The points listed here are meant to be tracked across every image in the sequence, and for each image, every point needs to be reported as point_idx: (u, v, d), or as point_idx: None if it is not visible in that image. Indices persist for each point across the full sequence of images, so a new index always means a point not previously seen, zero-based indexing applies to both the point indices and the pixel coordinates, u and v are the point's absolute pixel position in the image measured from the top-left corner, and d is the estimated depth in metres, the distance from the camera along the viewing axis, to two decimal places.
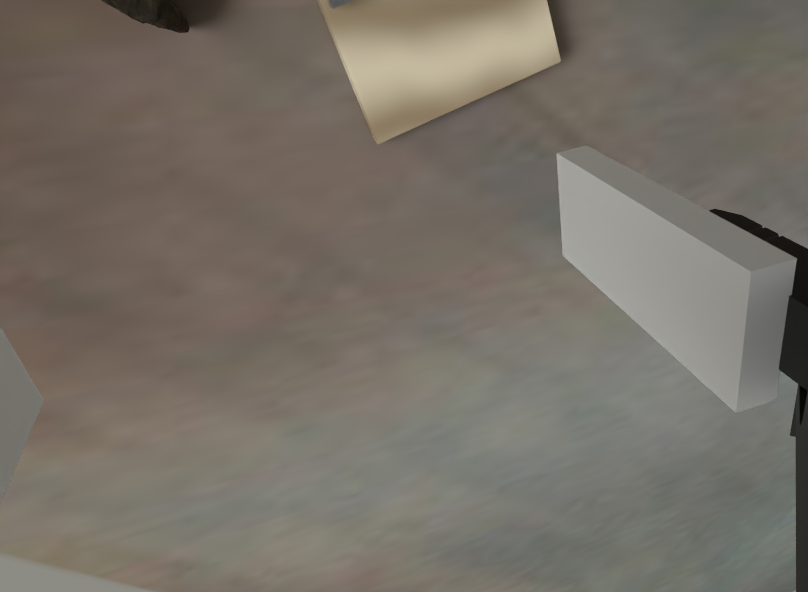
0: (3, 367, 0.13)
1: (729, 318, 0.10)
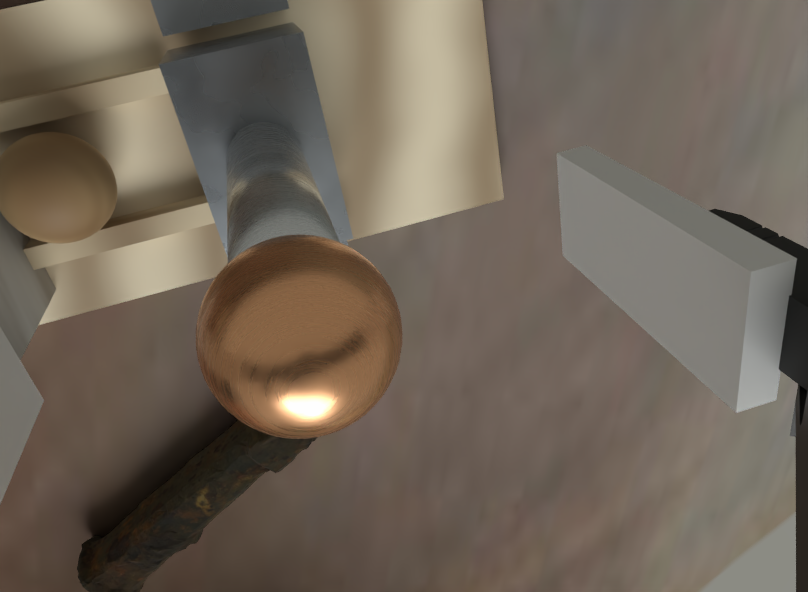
0: (3, 367, 0.13)
1: (729, 318, 0.10)
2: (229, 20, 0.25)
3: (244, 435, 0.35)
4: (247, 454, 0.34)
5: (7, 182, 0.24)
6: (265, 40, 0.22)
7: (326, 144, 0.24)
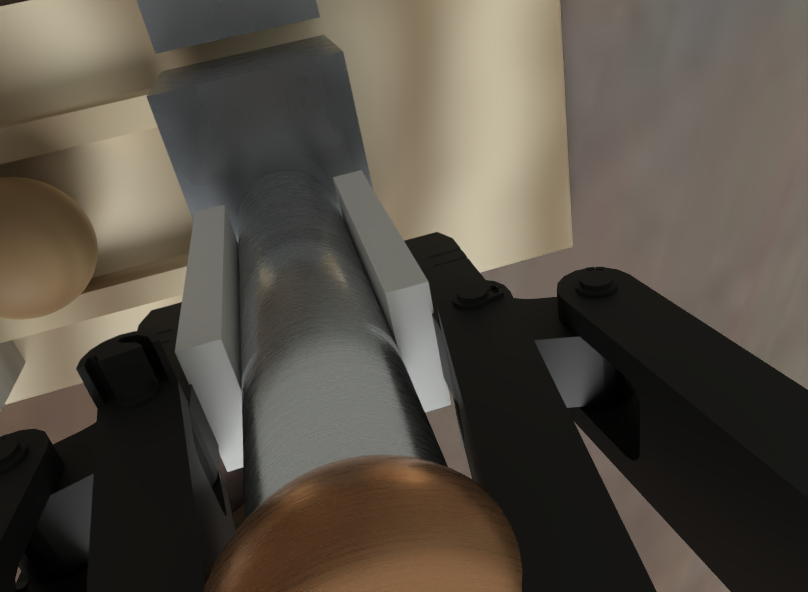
0: None
1: (392, 333, 0.12)
2: (242, 32, 0.19)
3: None
4: None
5: None
6: (292, 63, 0.16)
7: None
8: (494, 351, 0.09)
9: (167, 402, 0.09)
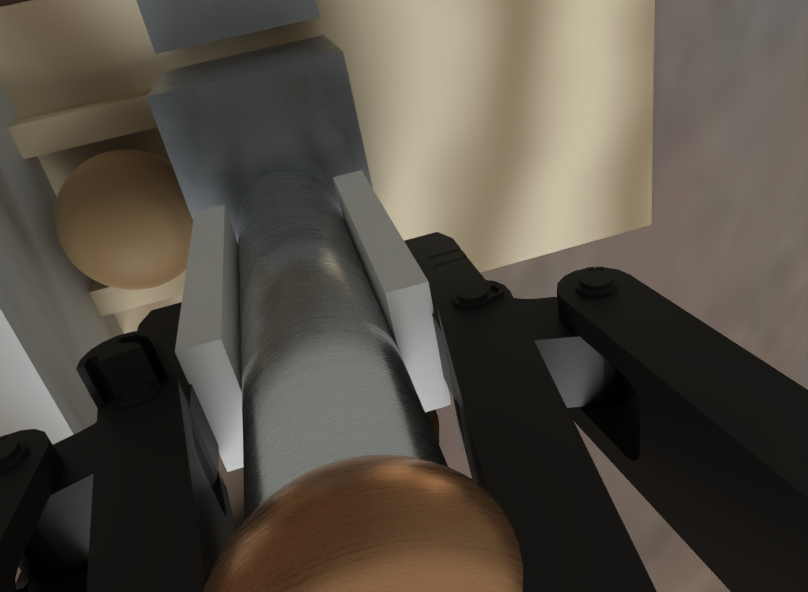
0: None
1: (392, 333, 0.12)
2: (242, 32, 0.19)
3: None
4: None
5: (73, 217, 0.18)
6: (292, 63, 0.16)
7: None
8: (494, 351, 0.09)
9: (167, 402, 0.09)
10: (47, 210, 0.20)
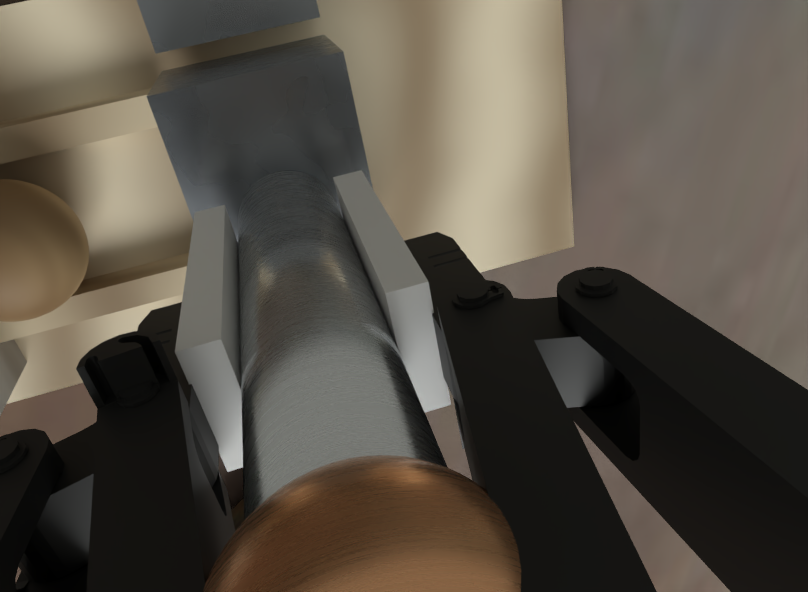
0: None
1: (392, 333, 0.12)
2: (242, 32, 0.19)
3: None
4: None
5: None
6: (292, 63, 0.16)
7: None
8: (494, 351, 0.09)
9: (167, 402, 0.09)
10: None
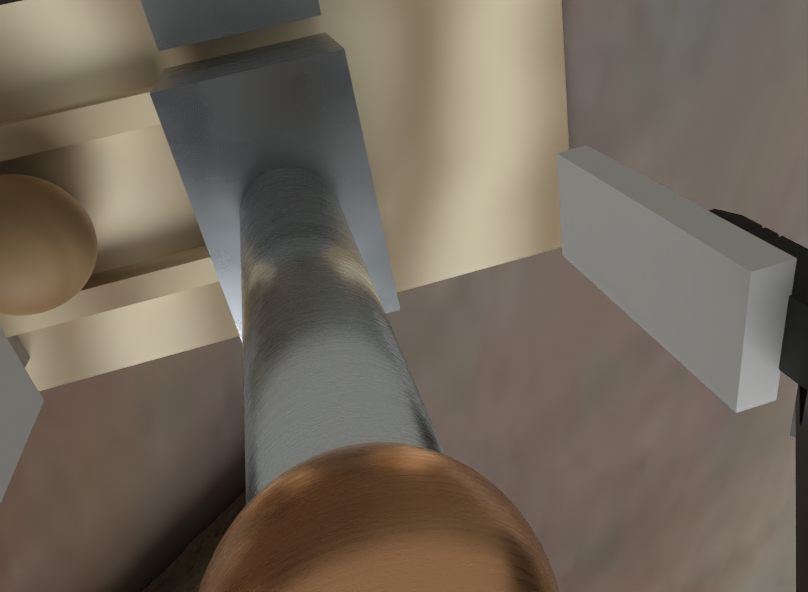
0: (3, 367, 0.13)
1: (729, 318, 0.10)
2: (244, 30, 0.19)
3: None
4: None
5: None
6: (293, 60, 0.16)
7: (370, 194, 0.18)
8: None
9: None
10: None
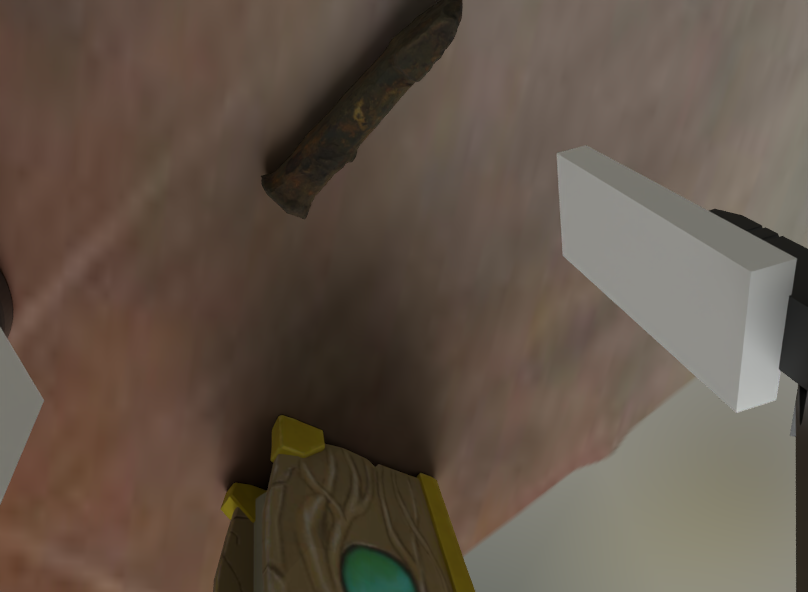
0: (3, 367, 0.13)
1: (729, 318, 0.10)
2: None
3: (389, 53, 0.43)
4: (393, 66, 0.43)
5: None
6: None
7: None
8: None
9: None
10: None
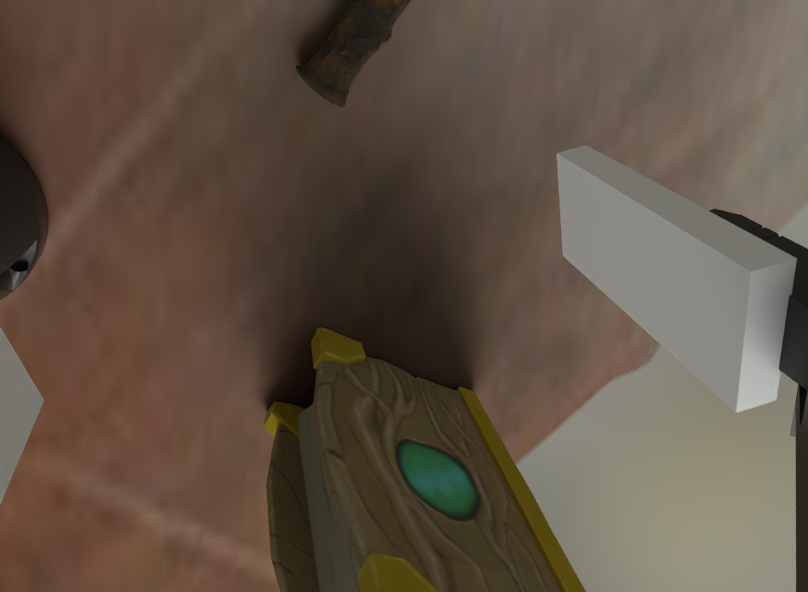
0: (3, 367, 0.13)
1: (729, 318, 0.10)
2: None
3: None
4: None
5: None
6: None
7: None
8: None
9: None
10: None
